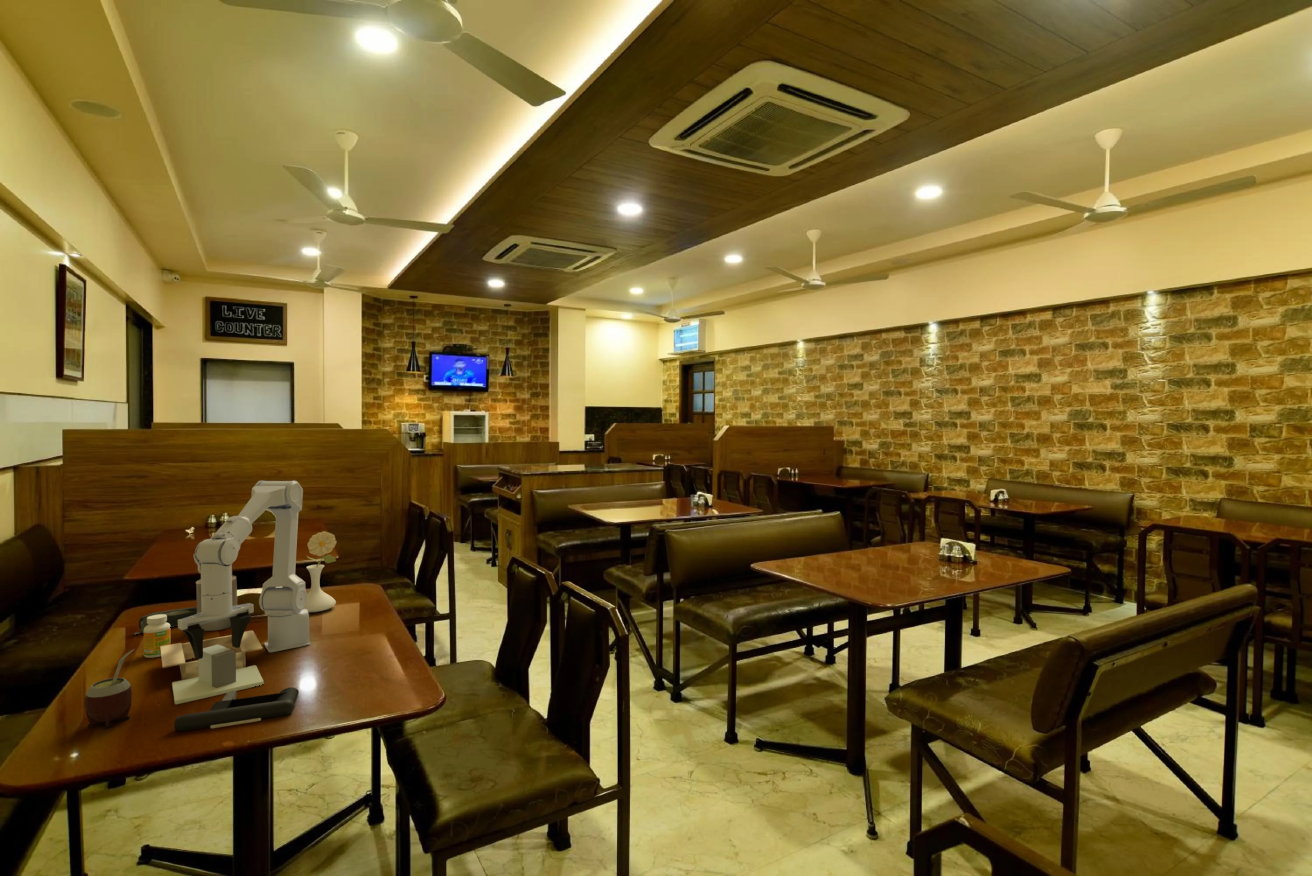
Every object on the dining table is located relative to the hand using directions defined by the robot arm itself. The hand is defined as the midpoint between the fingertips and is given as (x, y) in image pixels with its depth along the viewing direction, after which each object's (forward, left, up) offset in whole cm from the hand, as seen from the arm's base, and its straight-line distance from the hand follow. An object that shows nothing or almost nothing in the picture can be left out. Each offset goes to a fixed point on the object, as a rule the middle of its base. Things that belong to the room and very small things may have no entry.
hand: (217, 652), depth 142 cm
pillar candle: (-4, -49, -8) cm, 50 cm away
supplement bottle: (+10, -32, -8) cm, 34 cm away
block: (0, 0, -7) cm, 7 cm away
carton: (0, -15, -8) cm, 17 cm away
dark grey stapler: (+8, -56, -8) cm, 57 cm away
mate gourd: (+18, +8, -8) cm, 21 cm away
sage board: (0, 0, -8) cm, 8 cm away
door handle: (-3, +18, -8) cm, 20 cm away
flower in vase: (-30, -48, -8) cm, 57 cm away
